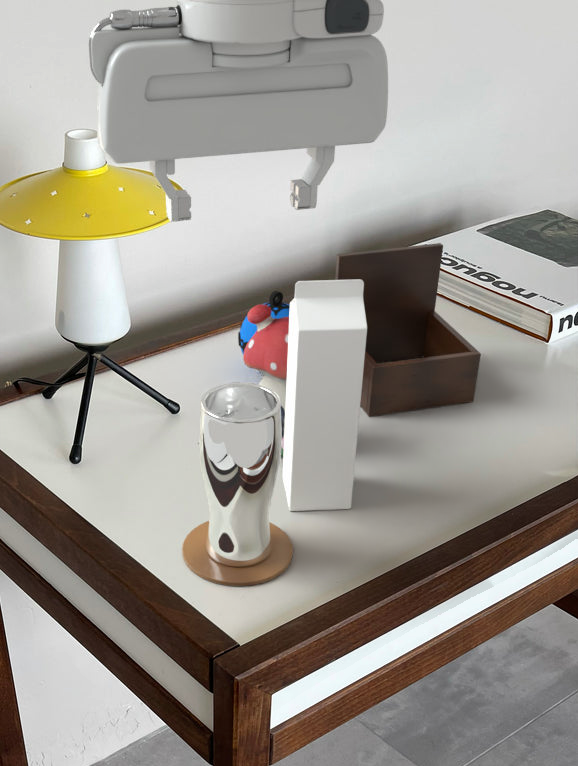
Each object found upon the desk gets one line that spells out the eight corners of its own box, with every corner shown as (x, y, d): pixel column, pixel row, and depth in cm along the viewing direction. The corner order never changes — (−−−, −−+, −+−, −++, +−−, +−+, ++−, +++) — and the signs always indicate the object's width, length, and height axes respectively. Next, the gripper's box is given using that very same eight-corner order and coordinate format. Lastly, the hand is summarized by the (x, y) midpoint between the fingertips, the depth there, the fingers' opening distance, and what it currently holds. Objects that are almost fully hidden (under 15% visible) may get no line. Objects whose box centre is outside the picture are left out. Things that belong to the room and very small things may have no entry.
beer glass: (184, 545, 92) (181, 400, 83) (239, 515, 96) (241, 373, 87) (237, 581, 88) (239, 431, 79) (293, 548, 91) (301, 402, 83)
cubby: (426, 353, 124) (440, 242, 116) (473, 402, 114) (492, 284, 106) (329, 366, 122) (336, 253, 113) (368, 416, 112) (380, 297, 103)
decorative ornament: (231, 438, 108) (232, 306, 99) (270, 415, 112) (274, 287, 103) (300, 469, 103) (307, 333, 94) (338, 444, 107) (349, 312, 98)
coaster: (273, 512, 97) (273, 508, 97) (308, 575, 89) (308, 572, 89) (171, 528, 95) (171, 525, 95) (197, 594, 87) (197, 591, 87)
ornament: (272, 395, 116) (275, 313, 110) (223, 369, 121) (223, 290, 115) (325, 372, 120) (330, 292, 115) (275, 347, 126) (278, 271, 120)
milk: (351, 510, 97) (372, 294, 84) (288, 512, 97) (299, 295, 84) (340, 475, 102) (359, 266, 89) (281, 477, 102) (290, 267, 89)
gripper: (94, 20, 61) (108, 241, 69) (407, 3, 65) (387, 214, 73) (78, 3, 66) (93, 211, 74) (370, -12, 70) (355, 187, 78)
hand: (241, 212), depth 74 cm, fingers open, 8 cm apart
